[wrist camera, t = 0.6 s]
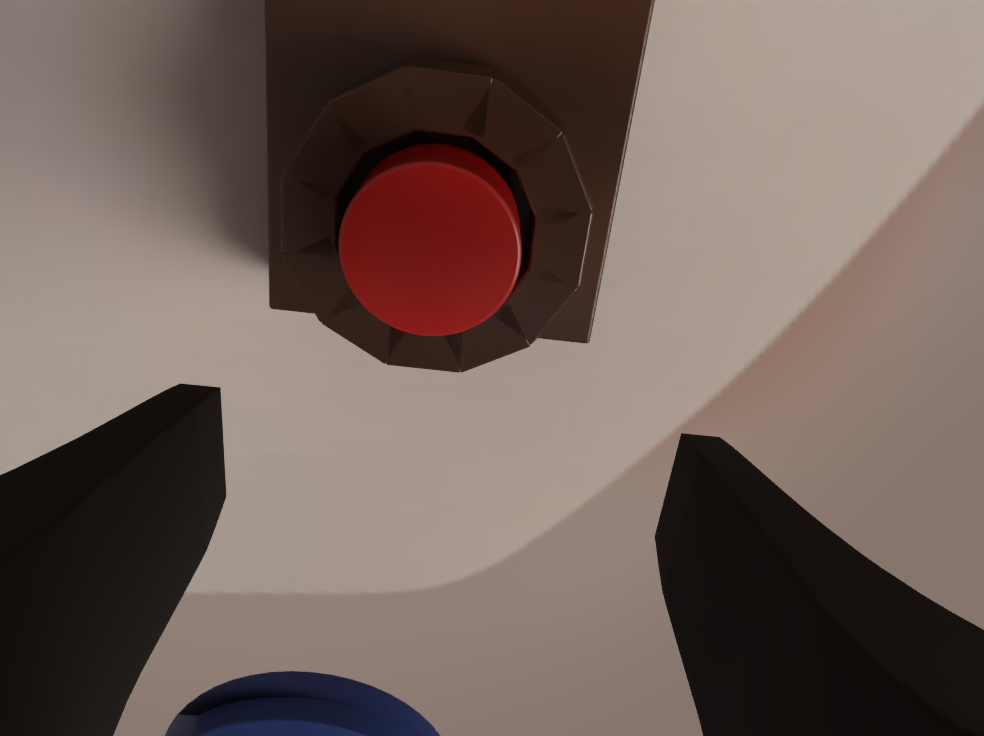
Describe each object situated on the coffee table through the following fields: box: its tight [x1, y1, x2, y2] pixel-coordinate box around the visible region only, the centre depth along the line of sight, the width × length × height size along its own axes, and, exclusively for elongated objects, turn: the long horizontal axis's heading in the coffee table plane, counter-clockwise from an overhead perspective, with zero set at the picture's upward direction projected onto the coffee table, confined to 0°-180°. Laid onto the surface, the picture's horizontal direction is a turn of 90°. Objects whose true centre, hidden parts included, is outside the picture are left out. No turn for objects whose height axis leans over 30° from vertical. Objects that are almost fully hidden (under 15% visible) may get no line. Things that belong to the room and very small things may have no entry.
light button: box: [338, 143, 522, 336], centre depth 16 cm, size 4×4×2 cm
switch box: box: [265, 0, 655, 372], centre depth 17 cm, size 10×8×4 cm
